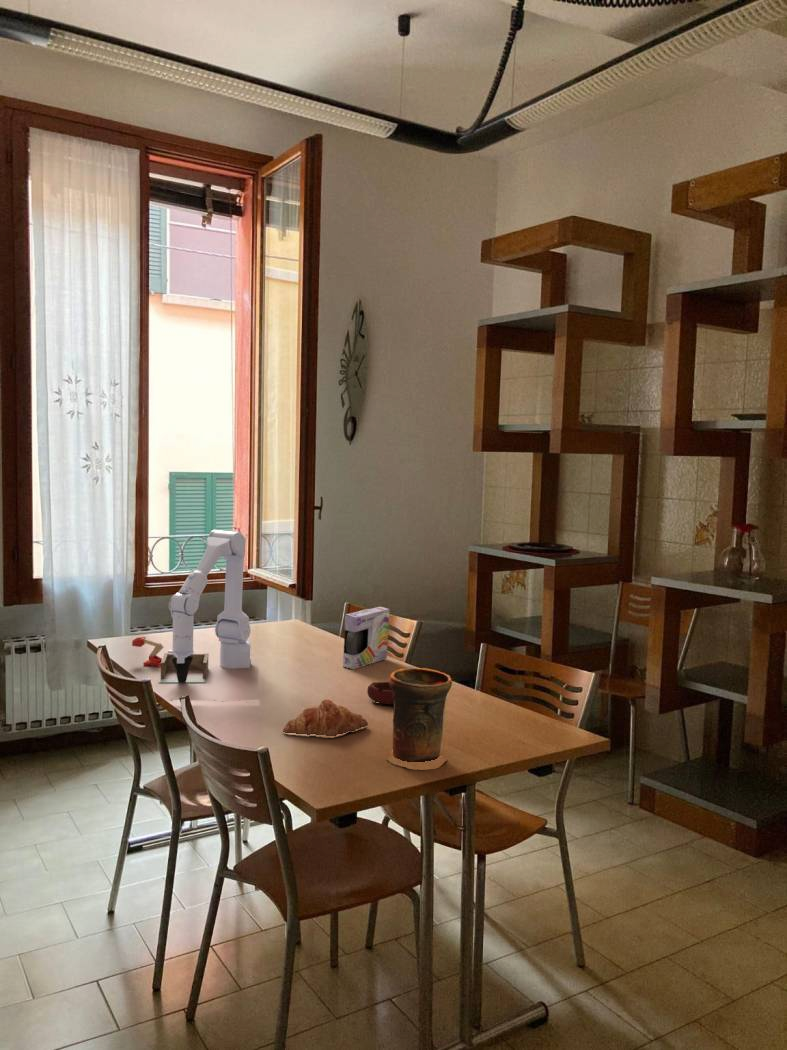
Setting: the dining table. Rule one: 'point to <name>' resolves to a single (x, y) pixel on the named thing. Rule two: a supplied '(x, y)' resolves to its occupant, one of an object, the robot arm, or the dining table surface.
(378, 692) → the ashtray
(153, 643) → the red desk lamp
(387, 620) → the cake pan box
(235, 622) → the robot arm
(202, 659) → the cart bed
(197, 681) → the panel
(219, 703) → the dining table surface
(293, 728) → the pastry
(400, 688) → the vessel
